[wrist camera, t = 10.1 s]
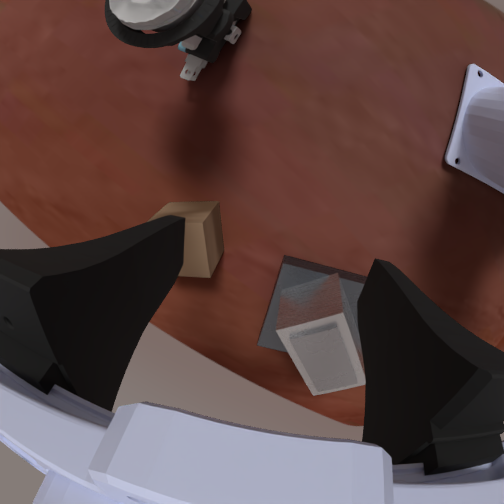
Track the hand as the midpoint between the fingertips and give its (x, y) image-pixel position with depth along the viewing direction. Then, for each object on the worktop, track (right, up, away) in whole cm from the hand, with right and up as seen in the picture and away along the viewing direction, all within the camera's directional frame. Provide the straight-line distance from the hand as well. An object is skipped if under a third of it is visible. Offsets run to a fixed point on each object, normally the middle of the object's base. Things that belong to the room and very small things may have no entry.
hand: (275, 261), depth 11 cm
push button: (-3, +14, +5) cm, 16 cm away
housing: (+5, -5, +13) cm, 14 cm away
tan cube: (-5, +2, +12) cm, 13 cm away
